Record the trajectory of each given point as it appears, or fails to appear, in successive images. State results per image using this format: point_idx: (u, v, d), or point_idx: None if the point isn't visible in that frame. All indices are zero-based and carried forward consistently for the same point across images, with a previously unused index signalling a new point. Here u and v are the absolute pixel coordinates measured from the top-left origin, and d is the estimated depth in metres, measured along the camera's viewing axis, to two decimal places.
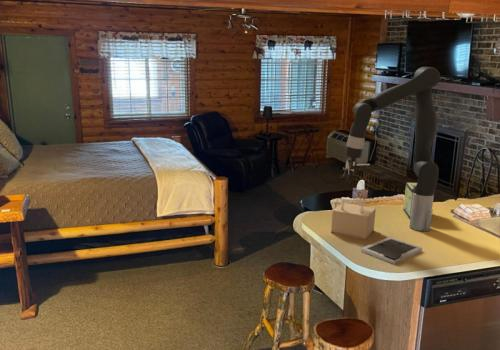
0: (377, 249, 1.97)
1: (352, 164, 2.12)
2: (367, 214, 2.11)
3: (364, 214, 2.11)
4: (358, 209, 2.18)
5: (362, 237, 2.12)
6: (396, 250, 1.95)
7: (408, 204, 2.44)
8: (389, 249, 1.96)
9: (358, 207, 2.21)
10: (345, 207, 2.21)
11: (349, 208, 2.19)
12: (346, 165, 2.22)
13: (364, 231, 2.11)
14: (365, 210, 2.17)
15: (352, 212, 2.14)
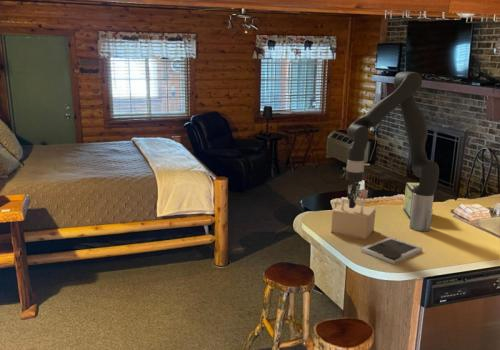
0: (377, 249, 1.97)
1: (348, 192, 2.08)
2: (367, 214, 2.12)
3: (364, 214, 2.11)
4: (358, 209, 2.18)
5: (362, 237, 2.12)
6: (396, 250, 1.95)
7: (408, 204, 2.43)
8: (389, 249, 1.96)
9: (358, 207, 2.21)
10: (345, 207, 2.21)
11: (349, 208, 2.19)
12: None
13: (364, 231, 2.11)
14: (365, 210, 2.17)
15: (352, 212, 2.14)
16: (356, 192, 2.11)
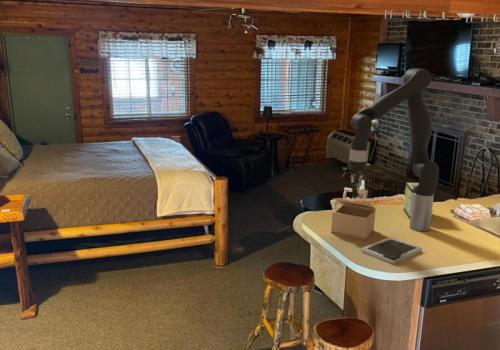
0: (377, 249, 1.97)
1: (351, 181, 2.10)
2: (369, 204, 2.12)
3: None
4: None
5: (362, 237, 2.12)
6: (396, 250, 1.95)
7: (408, 204, 2.43)
8: (389, 249, 1.96)
9: None
10: None
11: None
12: None
13: (364, 231, 2.11)
14: None
15: None
16: (359, 181, 2.13)
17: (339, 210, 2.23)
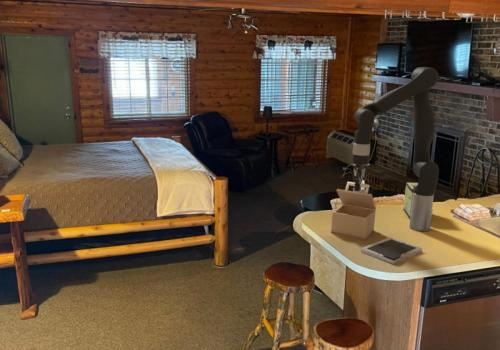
0: (377, 249, 1.97)
1: (354, 175, 2.12)
2: None
3: None
4: None
5: (362, 237, 2.12)
6: (396, 250, 1.95)
7: (408, 204, 2.43)
8: (389, 249, 1.96)
9: None
10: None
11: None
12: None
13: (364, 231, 2.11)
14: None
15: None
16: (362, 175, 2.16)
17: (339, 210, 2.23)
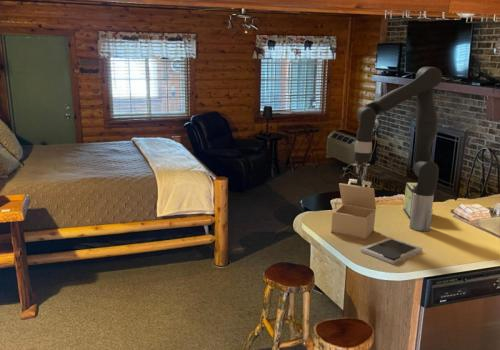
0: (377, 249, 1.97)
1: (356, 172, 2.15)
2: None
3: None
4: None
5: (362, 237, 2.12)
6: (396, 250, 1.95)
7: (408, 204, 2.43)
8: (389, 249, 1.96)
9: None
10: None
11: None
12: None
13: (364, 231, 2.11)
14: None
15: None
16: (364, 172, 2.18)
17: (339, 210, 2.23)
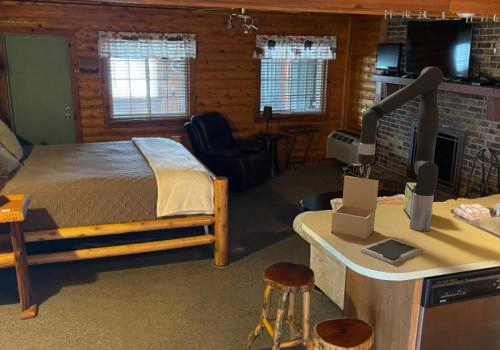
0: (377, 249, 1.97)
1: (360, 173, 2.21)
2: None
3: None
4: None
5: (362, 237, 2.12)
6: (396, 250, 1.95)
7: (408, 204, 2.43)
8: (389, 249, 1.96)
9: None
10: None
11: None
12: None
13: (364, 231, 2.11)
14: None
15: None
16: (367, 174, 2.24)
17: (339, 210, 2.23)
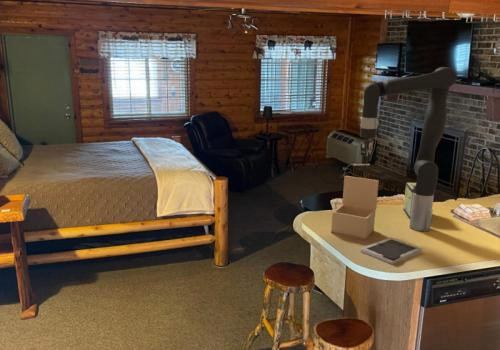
0: (376, 249, 1.97)
1: (362, 146, 2.18)
2: None
3: None
4: None
5: (362, 237, 2.12)
6: (396, 250, 1.95)
7: (408, 204, 2.43)
8: (389, 249, 1.96)
9: None
10: None
11: None
12: None
13: (364, 231, 2.11)
14: None
15: None
16: (369, 148, 2.21)
17: (339, 210, 2.23)
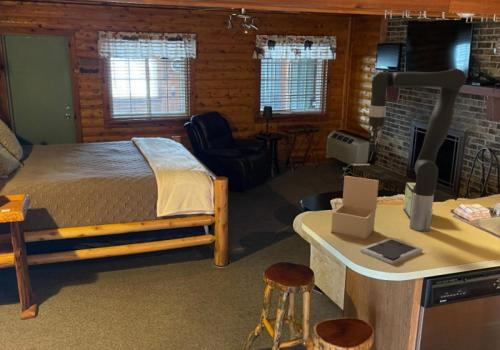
0: (376, 249, 1.97)
1: (370, 134, 2.21)
2: None
3: None
4: None
5: (362, 237, 2.12)
6: (395, 251, 1.95)
7: (408, 204, 2.43)
8: (389, 250, 1.96)
9: None
10: None
11: None
12: None
13: (364, 231, 2.11)
14: None
15: None
16: (378, 137, 2.24)
17: (339, 210, 2.23)
